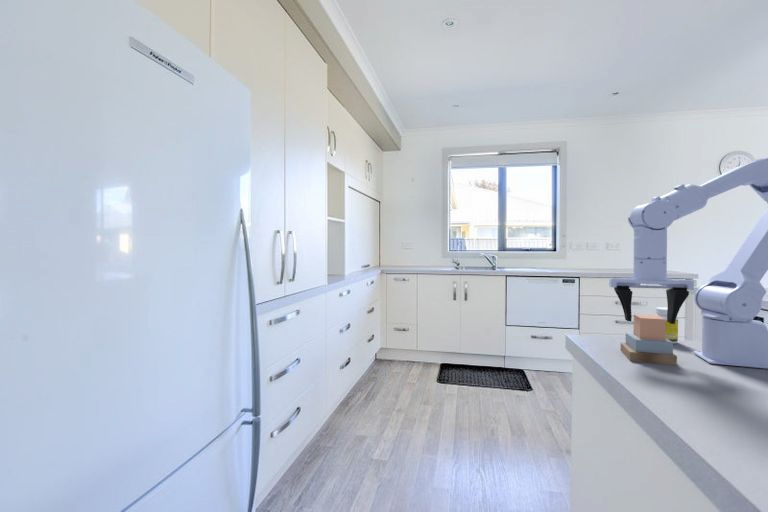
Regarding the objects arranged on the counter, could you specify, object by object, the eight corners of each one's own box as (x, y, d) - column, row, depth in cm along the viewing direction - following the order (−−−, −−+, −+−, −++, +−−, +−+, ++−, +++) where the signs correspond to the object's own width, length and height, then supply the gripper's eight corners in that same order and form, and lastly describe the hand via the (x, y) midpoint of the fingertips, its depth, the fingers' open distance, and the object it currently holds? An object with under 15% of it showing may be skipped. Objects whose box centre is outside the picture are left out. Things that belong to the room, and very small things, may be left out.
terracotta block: (657, 335, 78) (657, 315, 78) (665, 340, 74) (665, 319, 73) (633, 334, 79) (633, 314, 79) (639, 339, 75) (640, 317, 75)
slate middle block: (659, 346, 79) (659, 334, 79) (672, 354, 72) (673, 342, 72) (625, 343, 81) (625, 332, 81) (635, 351, 75) (635, 339, 74)
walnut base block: (662, 356, 79) (662, 345, 79) (676, 368, 71) (676, 356, 71) (620, 353, 82) (620, 342, 82) (629, 363, 74) (629, 352, 74)
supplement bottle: (682, 344, 86) (682, 310, 86) (660, 343, 87) (660, 309, 87) (670, 339, 91) (670, 307, 91) (649, 338, 92) (650, 306, 92)
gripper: (614, 259, 75) (614, 322, 75) (700, 259, 70) (700, 328, 70) (607, 258, 81) (607, 316, 82) (685, 258, 76) (685, 321, 76)
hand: (649, 321), depth 76 cm, fingers open, 7 cm apart
